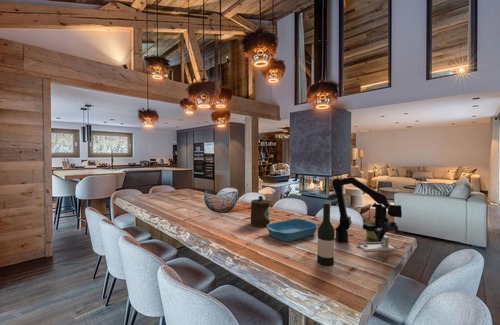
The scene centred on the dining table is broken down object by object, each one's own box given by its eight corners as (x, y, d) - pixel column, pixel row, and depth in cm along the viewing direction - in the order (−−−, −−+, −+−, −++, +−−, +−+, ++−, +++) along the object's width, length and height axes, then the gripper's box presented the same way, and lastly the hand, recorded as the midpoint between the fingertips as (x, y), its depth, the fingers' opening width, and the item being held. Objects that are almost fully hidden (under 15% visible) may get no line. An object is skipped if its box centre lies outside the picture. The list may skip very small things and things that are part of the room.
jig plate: (365, 251, 132) (365, 247, 131) (357, 245, 139) (357, 242, 139) (394, 250, 134) (394, 246, 134) (384, 244, 142) (385, 241, 142)
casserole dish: (282, 246, 138) (282, 234, 138) (260, 235, 157) (260, 224, 157) (323, 235, 158) (323, 224, 158) (299, 226, 177) (299, 217, 177)
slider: (385, 246, 135) (385, 237, 135) (380, 244, 139) (380, 235, 139) (389, 246, 135) (390, 237, 135) (385, 243, 139) (385, 235, 139)
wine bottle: (330, 259, 121) (331, 201, 120) (337, 266, 113) (338, 204, 112) (314, 259, 121) (315, 201, 120) (319, 266, 112) (321, 204, 112)
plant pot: (371, 240, 148) (372, 227, 148) (360, 235, 157) (361, 223, 157) (383, 239, 150) (384, 226, 150) (372, 234, 160) (372, 222, 159)
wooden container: (270, 227, 173) (271, 197, 172) (250, 227, 173) (250, 197, 172) (269, 221, 188) (269, 194, 187) (250, 221, 188) (251, 194, 187)
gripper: (374, 219, 127) (374, 247, 128) (406, 218, 130) (405, 246, 130) (362, 214, 138) (361, 240, 139) (391, 213, 141) (390, 239, 141)
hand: (379, 241), depth 137 cm, fingers closed
